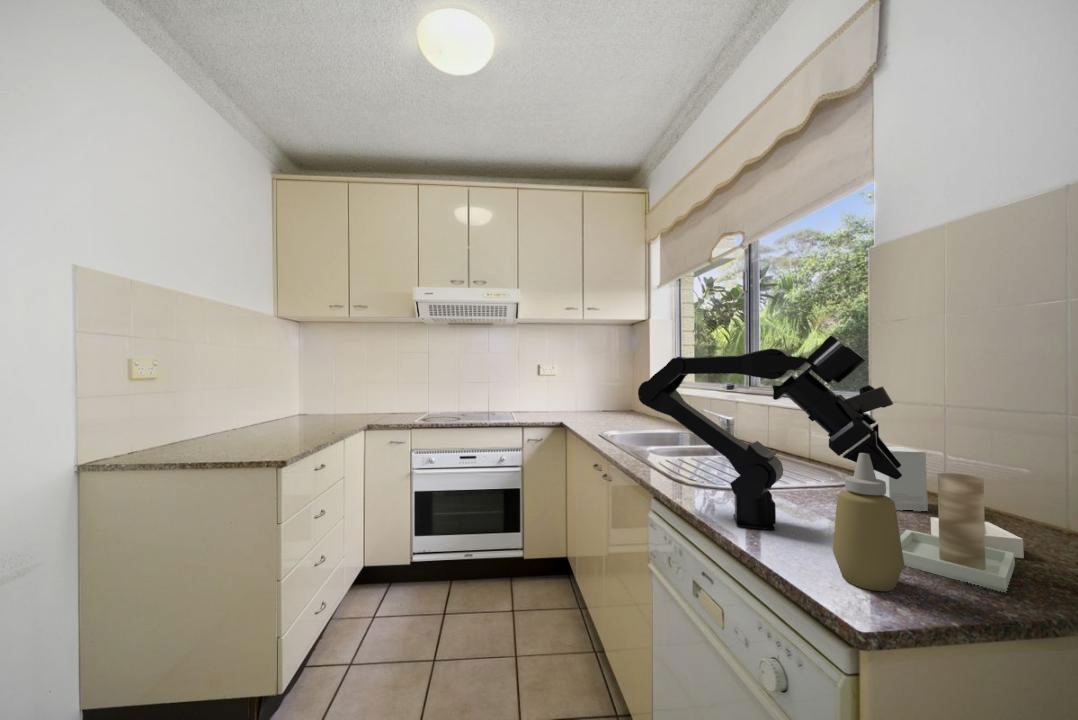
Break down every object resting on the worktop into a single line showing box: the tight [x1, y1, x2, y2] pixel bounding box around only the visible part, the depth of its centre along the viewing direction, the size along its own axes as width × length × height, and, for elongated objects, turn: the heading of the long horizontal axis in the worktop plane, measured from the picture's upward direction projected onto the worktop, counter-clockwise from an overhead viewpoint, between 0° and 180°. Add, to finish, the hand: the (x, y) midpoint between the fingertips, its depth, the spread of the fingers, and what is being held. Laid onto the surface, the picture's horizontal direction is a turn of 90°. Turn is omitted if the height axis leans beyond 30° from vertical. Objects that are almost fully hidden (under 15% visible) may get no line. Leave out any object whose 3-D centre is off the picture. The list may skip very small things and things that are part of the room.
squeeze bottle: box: [832, 453, 905, 592], centre depth 61 cm, size 8×8×18 cm
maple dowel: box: [937, 472, 986, 570], centre depth 65 cm, size 5×5×13 cm
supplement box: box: [874, 445, 929, 512], centre depth 95 cm, size 7×7×13 cm
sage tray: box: [900, 529, 1016, 594], centre depth 66 cm, size 13×13×2 cm
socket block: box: [930, 516, 1025, 559], centre depth 73 cm, size 8×8×3 cm
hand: (899, 472), depth 70 cm, fingers open, 9 cm apart
